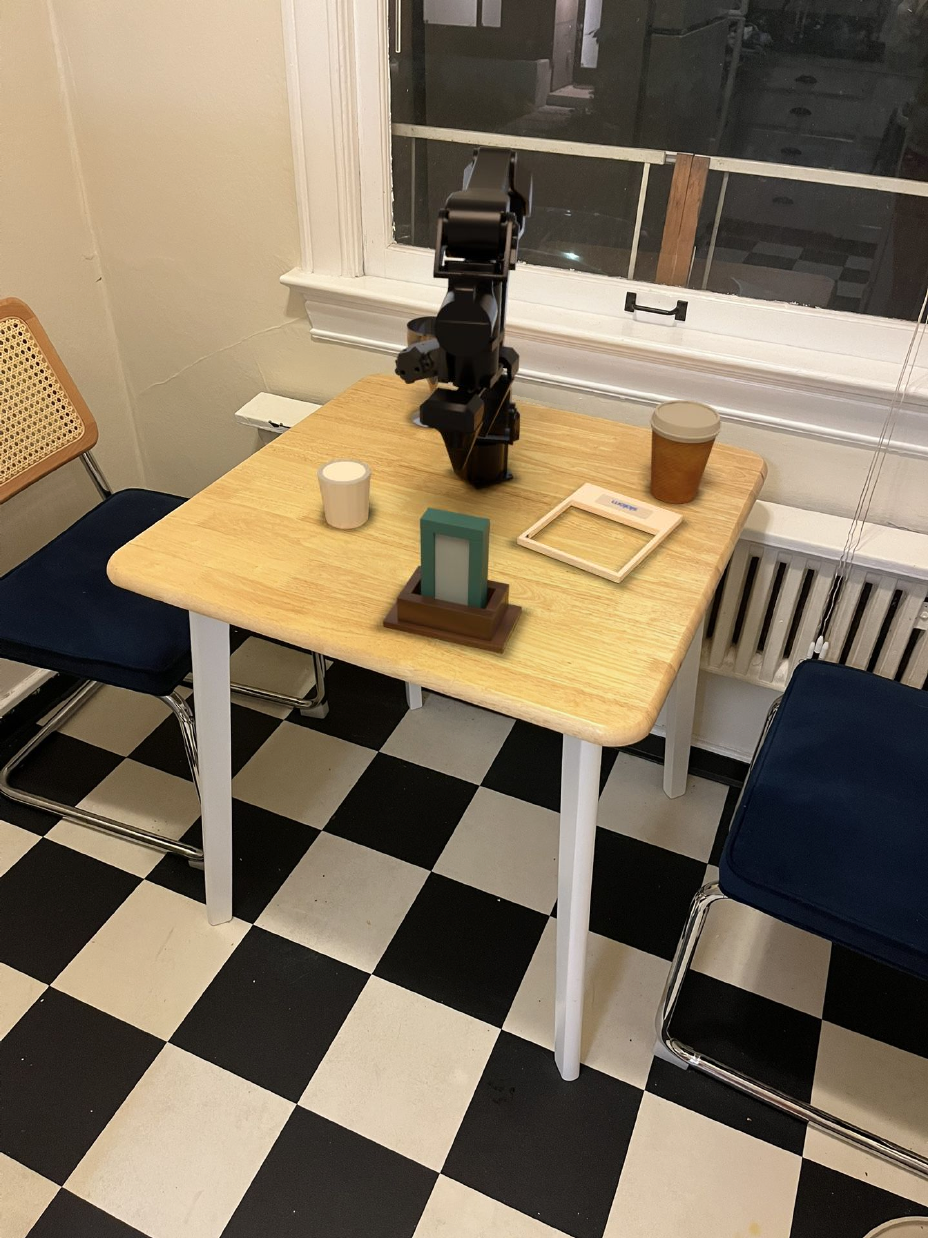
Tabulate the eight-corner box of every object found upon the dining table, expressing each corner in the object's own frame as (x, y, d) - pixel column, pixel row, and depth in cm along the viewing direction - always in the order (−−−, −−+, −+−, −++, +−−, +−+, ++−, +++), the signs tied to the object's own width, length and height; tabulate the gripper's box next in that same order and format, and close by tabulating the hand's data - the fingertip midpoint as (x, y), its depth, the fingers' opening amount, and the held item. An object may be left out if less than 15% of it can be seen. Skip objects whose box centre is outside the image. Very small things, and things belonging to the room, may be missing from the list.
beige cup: (364, 534, 118) (362, 486, 113) (314, 527, 119) (309, 480, 114) (379, 507, 123) (377, 461, 119) (330, 501, 124) (326, 455, 120)
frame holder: (408, 587, 108) (408, 559, 106) (521, 611, 105) (523, 583, 102) (383, 626, 102) (381, 598, 100) (502, 653, 99) (503, 624, 96)
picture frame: (428, 600, 105) (428, 507, 97) (486, 613, 103) (490, 518, 96) (420, 613, 103) (419, 518, 95) (479, 626, 101) (483, 530, 94)
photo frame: (683, 514, 121) (620, 575, 109) (681, 521, 121) (618, 583, 110) (586, 481, 127) (517, 536, 115) (586, 488, 128) (517, 543, 116)
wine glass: (403, 426, 143) (401, 332, 134) (414, 405, 149) (412, 314, 140) (453, 430, 142) (454, 336, 133) (461, 409, 148) (463, 318, 139)
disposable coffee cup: (705, 479, 131) (721, 401, 124) (708, 513, 123) (726, 432, 116) (639, 473, 132) (651, 395, 125) (638, 506, 125) (650, 425, 117)
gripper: (433, 288, 108) (433, 411, 117) (371, 342, 93) (377, 477, 103) (524, 300, 105) (516, 424, 114) (474, 357, 91) (470, 494, 100)
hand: (470, 452), depth 108 cm, fingers open, 9 cm apart
